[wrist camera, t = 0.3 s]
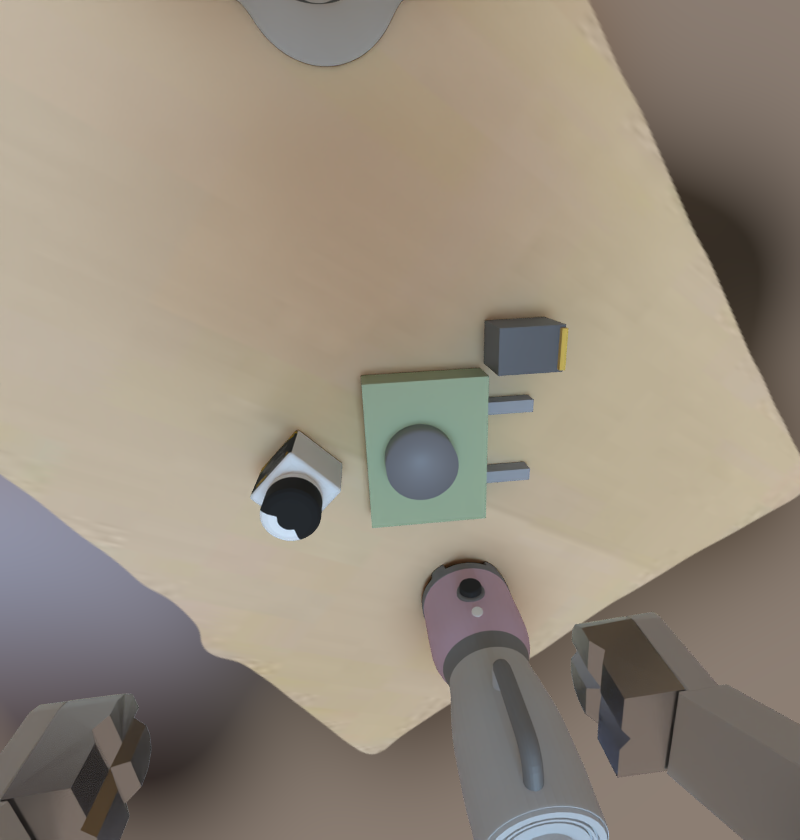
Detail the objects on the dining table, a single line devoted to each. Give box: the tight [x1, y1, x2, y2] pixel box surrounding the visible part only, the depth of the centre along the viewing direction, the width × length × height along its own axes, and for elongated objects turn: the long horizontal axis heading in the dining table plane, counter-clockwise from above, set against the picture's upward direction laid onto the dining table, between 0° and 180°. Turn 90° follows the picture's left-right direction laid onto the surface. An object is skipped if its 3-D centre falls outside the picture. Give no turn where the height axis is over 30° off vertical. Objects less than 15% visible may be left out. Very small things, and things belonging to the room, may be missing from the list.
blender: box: [422, 562, 609, 840], centre depth 51 cm, size 16×12×32 cm
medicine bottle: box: [250, 431, 342, 541], centre depth 52 cm, size 7×7×12 cm
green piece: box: [361, 368, 534, 528], centre depth 55 cm, size 18×20×7 cm
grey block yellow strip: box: [484, 317, 568, 376], centre depth 51 cm, size 5×7×7 cm
